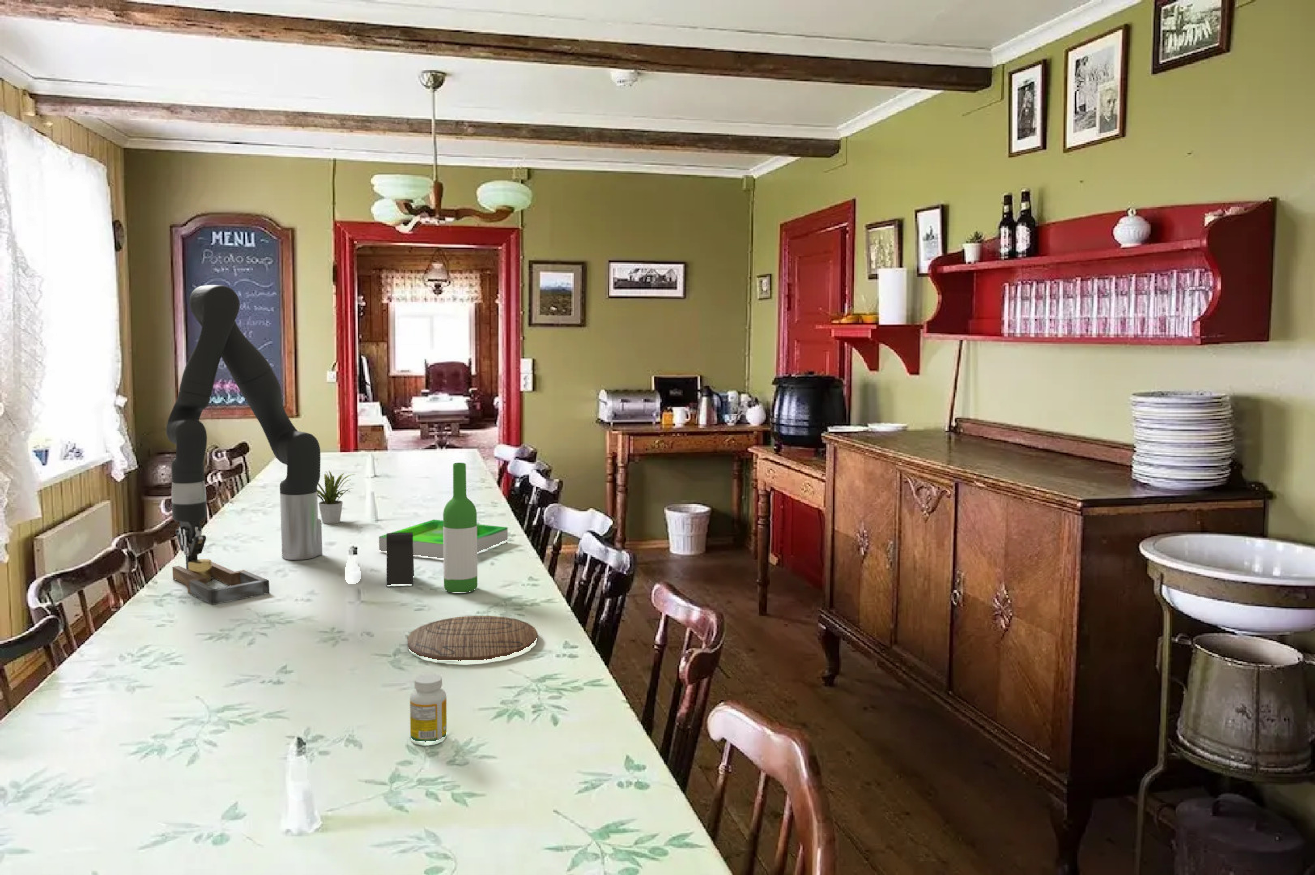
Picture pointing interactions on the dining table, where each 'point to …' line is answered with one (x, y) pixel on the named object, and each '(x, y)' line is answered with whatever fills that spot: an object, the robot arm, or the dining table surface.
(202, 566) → the tan rounded block
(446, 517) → the wine bottle
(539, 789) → the dining table surface
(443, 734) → the supplement bottle
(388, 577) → the door stopper
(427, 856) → the dining table surface
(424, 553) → the tray
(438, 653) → the trivet
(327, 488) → the house plant
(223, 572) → the chute
